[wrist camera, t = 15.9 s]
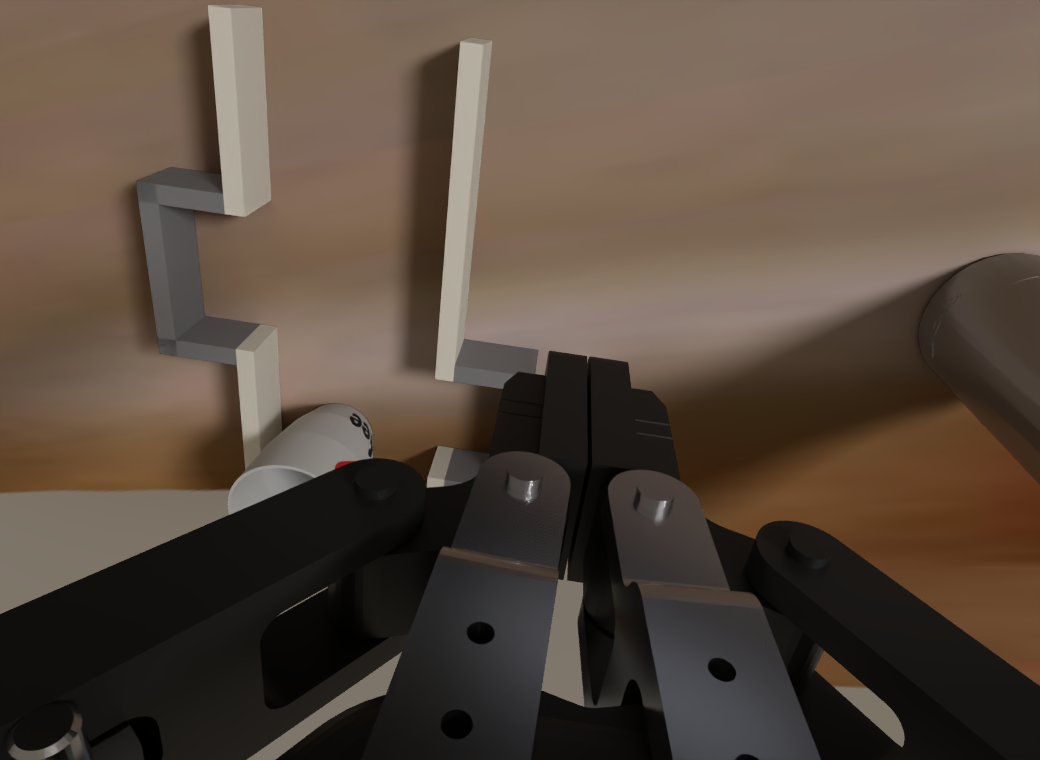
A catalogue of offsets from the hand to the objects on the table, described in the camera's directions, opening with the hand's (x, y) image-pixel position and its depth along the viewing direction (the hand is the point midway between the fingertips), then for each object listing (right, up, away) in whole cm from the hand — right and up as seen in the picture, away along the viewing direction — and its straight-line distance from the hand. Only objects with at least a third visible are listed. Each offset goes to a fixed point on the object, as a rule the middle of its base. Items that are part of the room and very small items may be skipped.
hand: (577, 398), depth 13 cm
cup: (-15, -4, +40) cm, 43 cm away
